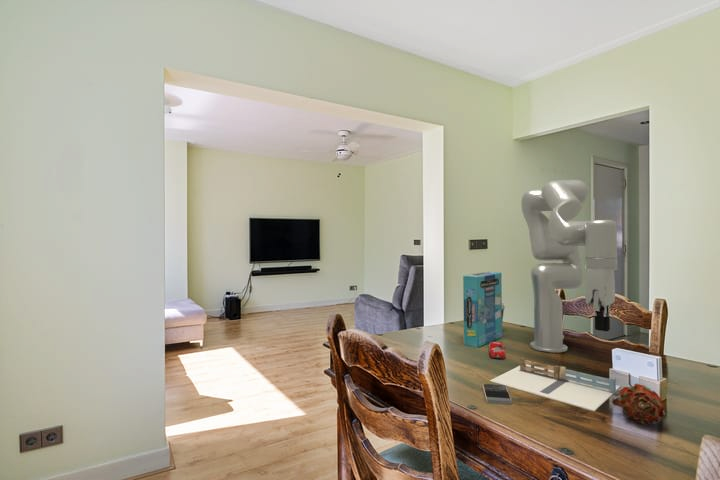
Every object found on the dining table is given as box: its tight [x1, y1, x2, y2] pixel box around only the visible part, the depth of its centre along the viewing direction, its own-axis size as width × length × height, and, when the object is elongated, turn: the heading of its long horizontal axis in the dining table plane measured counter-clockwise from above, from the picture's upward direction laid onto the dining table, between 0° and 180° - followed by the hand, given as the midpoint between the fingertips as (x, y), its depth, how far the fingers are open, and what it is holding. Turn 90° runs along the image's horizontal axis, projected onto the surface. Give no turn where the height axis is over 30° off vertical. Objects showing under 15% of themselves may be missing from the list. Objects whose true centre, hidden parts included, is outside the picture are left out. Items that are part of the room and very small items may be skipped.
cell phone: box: [482, 383, 513, 406], centre depth 102 cm, size 6×11×1 cm, turn 168°
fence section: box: [519, 357, 561, 380], centre depth 116 cm, size 11×1×4 cm, turn 42°
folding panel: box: [560, 365, 617, 393], centre depth 107 cm, size 14×1×3 cm, turn 42°
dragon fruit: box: [611, 383, 667, 426], centre depth 88 cm, size 8×8×12 cm
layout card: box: [489, 364, 618, 413], centre depth 109 cm, size 22×27×1 cm
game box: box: [462, 271, 503, 349], centre depth 155 cm, size 20×6×27 cm, turn 135°
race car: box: [488, 341, 507, 360], centre depth 138 cm, size 13×5×4 cm, turn 163°
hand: (602, 330), depth 108 cm, fingers closed
